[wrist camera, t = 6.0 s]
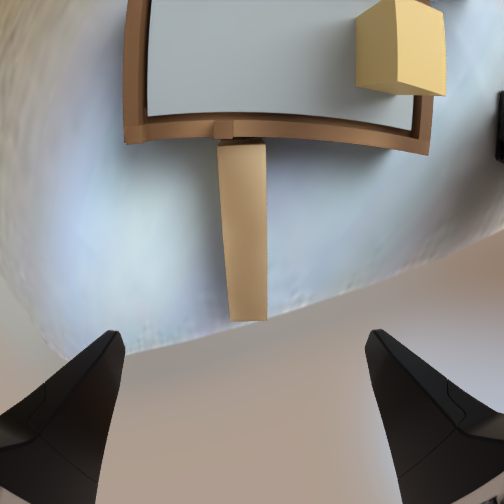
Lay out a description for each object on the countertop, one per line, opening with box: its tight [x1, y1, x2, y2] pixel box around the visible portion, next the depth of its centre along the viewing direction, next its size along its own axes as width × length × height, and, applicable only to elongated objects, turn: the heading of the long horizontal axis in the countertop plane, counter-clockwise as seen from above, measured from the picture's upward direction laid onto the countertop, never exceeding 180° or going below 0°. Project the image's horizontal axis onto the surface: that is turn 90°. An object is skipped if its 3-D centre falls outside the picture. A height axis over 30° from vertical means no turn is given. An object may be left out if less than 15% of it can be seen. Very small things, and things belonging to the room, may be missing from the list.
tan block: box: [217, 138, 267, 322], centre depth 18 cm, size 2×11×4 cm, turn 2°
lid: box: [147, 0, 446, 131], centre depth 9 cm, size 14×8×5 cm, turn 89°
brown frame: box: [123, 0, 433, 156], centre depth 12 cm, size 16×10×5 cm, turn 89°
